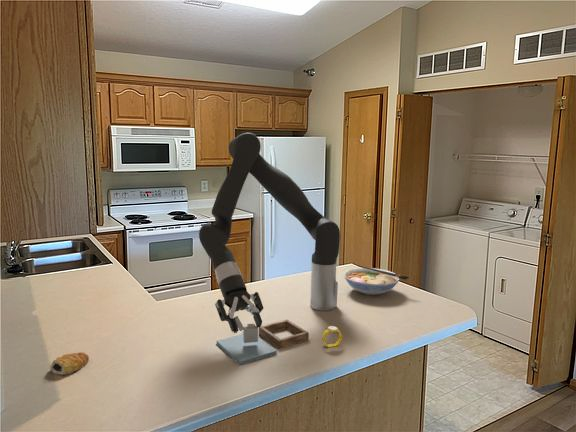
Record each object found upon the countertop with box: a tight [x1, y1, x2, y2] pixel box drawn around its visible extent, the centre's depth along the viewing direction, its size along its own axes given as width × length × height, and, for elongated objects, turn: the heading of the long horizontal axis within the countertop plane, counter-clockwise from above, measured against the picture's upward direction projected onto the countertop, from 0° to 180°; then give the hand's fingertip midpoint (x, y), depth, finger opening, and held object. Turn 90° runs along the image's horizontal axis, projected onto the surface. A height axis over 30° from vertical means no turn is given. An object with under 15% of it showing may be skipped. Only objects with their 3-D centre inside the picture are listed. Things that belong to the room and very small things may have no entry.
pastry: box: [49, 352, 90, 376], centre depth 117 cm, size 9×7×4 cm
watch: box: [321, 325, 343, 348], centre depth 132 cm, size 6×3×6 cm, turn 107°
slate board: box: [216, 333, 278, 366], centre depth 130 cm, size 12×15×1 cm
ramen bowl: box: [343, 265, 409, 296], centre depth 181 cm, size 25×23×8 cm
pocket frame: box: [258, 319, 310, 349], centre depth 138 cm, size 11×12×2 cm
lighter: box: [233, 315, 259, 343], centre depth 129 cm, size 7×2×8 cm, turn 104°
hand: (248, 329), depth 127 cm, fingers closed on lighter, 7 cm apart
